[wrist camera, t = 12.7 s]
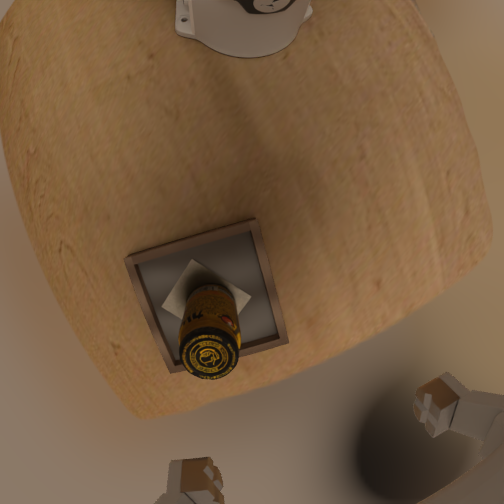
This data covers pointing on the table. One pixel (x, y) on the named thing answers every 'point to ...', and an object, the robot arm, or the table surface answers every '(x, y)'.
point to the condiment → (207, 321)
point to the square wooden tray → (222, 264)
